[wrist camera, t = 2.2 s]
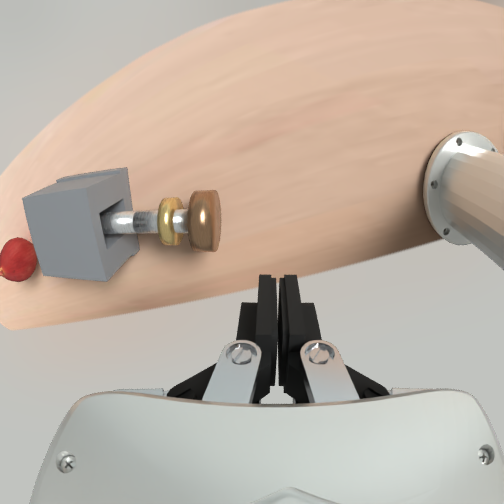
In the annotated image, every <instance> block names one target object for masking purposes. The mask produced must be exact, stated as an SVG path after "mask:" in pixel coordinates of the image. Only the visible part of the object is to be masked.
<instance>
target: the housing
mask: <svg viewBox="0 0 504 504" xmlns="http://www.w3.org/2000/svg"><path fill="white" fill-rule="evenodd" d="M56 181H57V183H55V184H53V185H50V186H48V187H46V188H43V189H41V190H39V191H37V192H34V193H32V194H30V195H28V196H26V197H24V198H22V200H23V205H24V209H25V214H26V218H27V222H28V226H29V230H30V234H31V238H32V241H33V245H34V248H35V252H36V255H37V258H38V261H39V264H40V267H41V270H42V273H43V276H53V277H62V278H72V279H83V280H95V281H108V280H109V279H110V278H111V277H112V276H113V274H114V273H115V272H116V271H117V270H118V269H119V268H120V267H121V266H122V265H123V264H124V262H125V261H126V260H127V259H128V258H129V257H130V256H134V255H135V254H136V253H137V252H138V251H139V250H140V248H139V243H138V238H137V233H133V234H103V230H102V225H101V220H100V215H99V213H105V212H123V211H133V208H132V201H131V194H130V186H129V178H128V169H127V167H126V168H118V169H110V170H103V171H97V172H90V173H84V174H78V175H73V176H67V177H63V178H61V179H58V180H56Z"/></svg>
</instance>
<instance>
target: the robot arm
mask: <svg viewBox="0 0 504 504" xmlns="http://www.w3.org/2000/svg"><path fill="white" fill-rule="evenodd" d="M431 182H432V183H431ZM423 198H424V206H425V210H426V214H427V217H428V219H429V221H430V223H431V225H432V227H433V228H434V230H435V231H436V232H437V233H438V234H439V235H440V236H441V237H442V238H443V239H445V240H447V241H448V242H450V243H453V244H456V245H467V244H471V243H472V244H474V245H475V246H476V247H477V248H479V249H480V250H481V251H482V252H483V253H484V254H486V255H487V256H488V257H489V258H490V259H491V260H493V261H494V262H495V263H496V264H497V265H498V266H499V267H501V268H502V269H503V270H504V155H503V154H500V153H498V151H497V149H496V148H495V146H494V145H493V144H492V143H491V141H489V140H488V139H487V138H486V137H485V136H483V135H481V134H479V133H475V132H471V131H459V132H455V133H453V134H451V135H449V136H447V137H446V138H445V139H444V140H443V141H442V142H441V143H439V145H438V146H437V148H436V149H435V150H434V152H433V154H432V156H431V158H430V160H429V162H428V166H427V169H426V172H425V178H424V184H423ZM277 343H278V370H279V386H284V393H287V394H288V395H289V396H291V397H292V398H293V404H261V399H262V398H263V397H265V396H266V395H267V394H268V393H270V386H274V385H275V375H276V360H277ZM29 504H504V455H503V452H502V449H501V446H500V443H499V441H498V438H497V436H496V433H495V431H494V429H493V426H492V424H491V422H490V420H489V418H488V416H487V414H486V412H485V411H484V409H483V407H482V406H481V404H480V403H479V402H478V400H477V399H476V398H475V397H474V396H473V395H471V394H469V393H467V392H464V391H460V390H455V389H409V388H392V389H391V390H387V389H386V388H385V387H383V386H382V385H380V384H378V383H376V382H375V381H373V380H371V379H369V378H368V377H366V376H364V375H362V374H360V373H359V372H357V371H355V370H353V369H352V368H350V367H348V366H346V365H345V364H344V362H343V360H342V358H341V356H340V354H339V351H338V350H337V348H336V347H335V346H334V345H333V344H331V343H329V342H327V341H323V340H322V339H321V334H320V329H319V324H318V320H317V315H316V311H315V306H314V303H301V300H300V293H299V287H298V281H297V275H284V278H280V281H279V305H278V319H277V293H276V278H271V275H259V288H258V303H244V302H242V303H241V311H240V317H239V325H238V331H237V338H236V341H233V342H231V343H229V344H227V345H226V346H225V347H224V349H223V350H222V352H221V355H220V357H219V360H218V362H217V363H216V364H214V365H213V366H210V367H209V368H207V369H205V370H203V371H202V372H200V373H198V374H196V375H194V376H193V377H191V378H189V379H187V380H185V381H184V382H182V383H180V384H178V385H176V386H174V387H173V388H172V389H170V391H164V390H163V389H119V390H114V391H108V392H100V393H94V394H90V395H87V396H84V397H82V398H81V399H79V400H78V401H77V402H76V403H75V404H74V405H73V406H72V407H71V409H70V410H69V411H68V413H67V414H66V416H65V417H64V419H63V421H62V422H61V424H60V426H59V428H58V430H57V432H56V434H55V436H54V438H53V440H52V442H51V444H50V446H49V449H48V451H47V454H46V456H45V459H44V461H43V464H42V466H41V469H40V472H39V474H38V477H37V480H36V483H35V486H34V489H33V493H32V496H31V499H30V503H29Z"/></svg>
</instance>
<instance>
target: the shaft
mask: <svg viewBox="0 0 504 504" xmlns="http://www.w3.org/2000/svg"><path fill="white" fill-rule="evenodd" d="M99 215H100V220H101V225H102V230H103V234H133V233H158V234H159V238H160V240H161V242H162V243H163V244H164V245H179V244H180V242H181V240H182V237H183V233H188V235H189V241H190V244H191V247H192V249H193V250H194V251H199V252H216V251H217V249H218V246H219V241H220V234H221V207H220V200H219V195H218V193H217V191H216V190H205V191H194V192H193V194H192V196H191V198H190V202H189V207H188V209H183V205H182V202H181V200H180V199H179V198H177V197H176V198H164V199H163V200H162V201H161V203H160V205H159V209H158V210H144V211H123V212H105V213H99Z"/></svg>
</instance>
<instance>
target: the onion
mask: <svg viewBox="0 0 504 504" xmlns="http://www.w3.org/2000/svg"><path fill="white" fill-rule="evenodd" d="M36 264H37V255H36V252H35V248H34V245H33V244H32V243H30V242H29V241H27V240H25V239H23V238H18V237H17V238H14V239H11V240H9V241H8V242H7V243H6V244H5V245H4V247H3V249H2V251H1V253H0V276H3V277H4V278H6V279H8V280H10V281H16V282H21V281H24V280H27V279H28V278H29V277H30V276H31V275H32V273H33V272H34V270H35V268H36Z"/></svg>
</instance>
